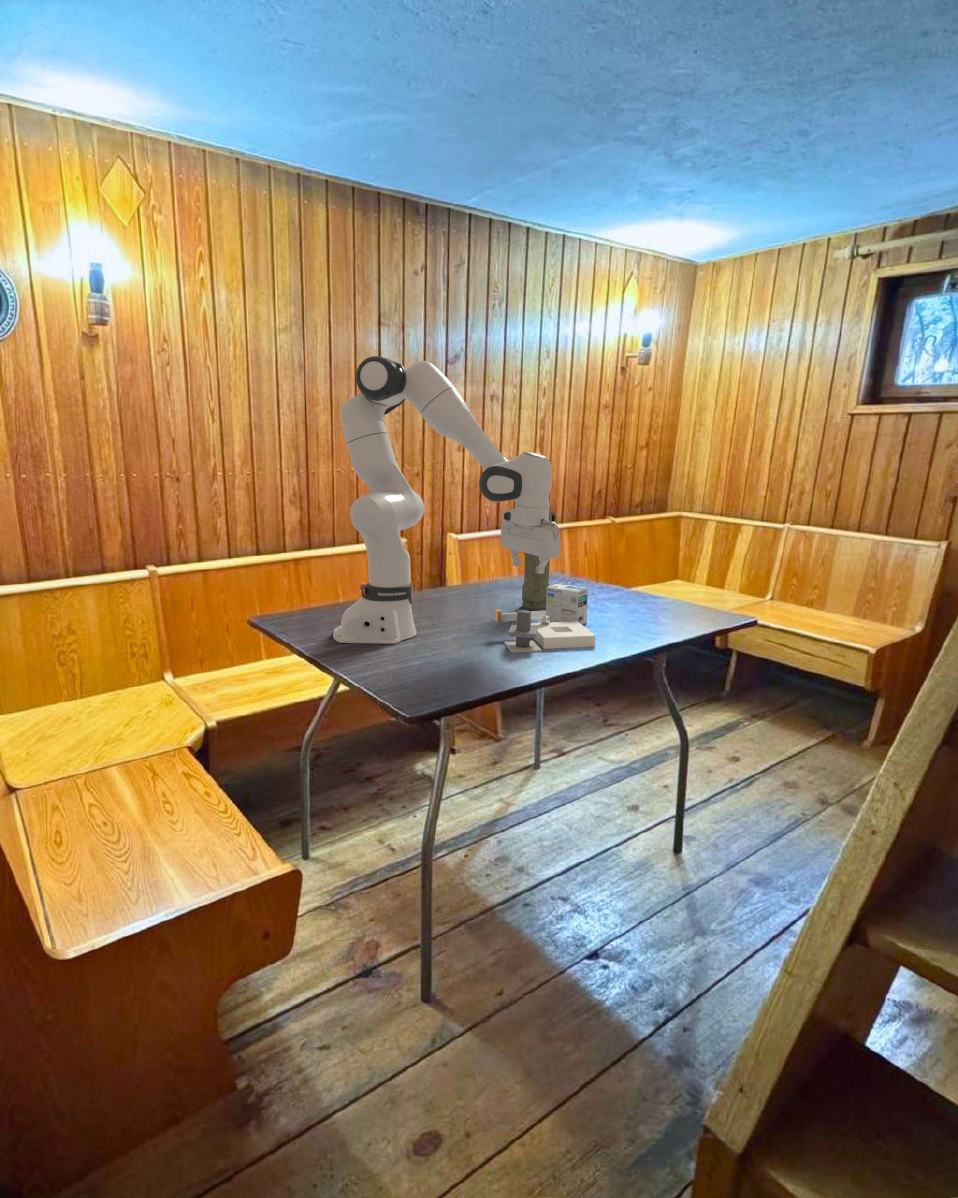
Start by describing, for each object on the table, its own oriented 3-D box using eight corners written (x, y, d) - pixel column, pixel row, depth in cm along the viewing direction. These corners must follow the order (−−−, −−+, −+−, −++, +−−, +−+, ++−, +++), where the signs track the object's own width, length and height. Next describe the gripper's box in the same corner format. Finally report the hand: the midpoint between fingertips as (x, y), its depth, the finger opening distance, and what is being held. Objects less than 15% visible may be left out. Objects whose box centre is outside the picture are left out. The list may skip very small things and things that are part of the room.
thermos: (512, 606, 220) (515, 496, 212) (542, 602, 226) (546, 495, 218) (528, 612, 212) (532, 499, 204) (558, 608, 218) (563, 498, 210)
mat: (511, 652, 173) (511, 651, 172) (504, 643, 180) (504, 641, 180) (542, 651, 174) (542, 649, 174) (533, 642, 182) (533, 640, 182)
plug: (507, 648, 174) (509, 614, 172) (510, 640, 181) (512, 607, 179) (535, 650, 173) (536, 616, 171) (537, 642, 180) (538, 609, 178)
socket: (543, 648, 176) (544, 637, 176) (529, 633, 190) (529, 623, 189) (594, 646, 179) (595, 635, 178) (577, 631, 192) (577, 621, 192)
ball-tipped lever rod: (547, 621, 190) (548, 606, 189) (550, 623, 188) (551, 608, 187) (494, 624, 186) (495, 609, 185) (497, 627, 184) (497, 611, 182)
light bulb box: (587, 623, 202) (589, 587, 199) (577, 628, 196) (579, 591, 194) (555, 617, 207) (556, 582, 205) (544, 622, 202) (545, 586, 199)
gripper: (568, 522, 169) (563, 576, 173) (516, 511, 185) (513, 561, 188) (549, 523, 166) (545, 578, 169) (497, 512, 181) (495, 563, 185)
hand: (527, 569), depth 179 cm, fingers open, 8 cm apart
